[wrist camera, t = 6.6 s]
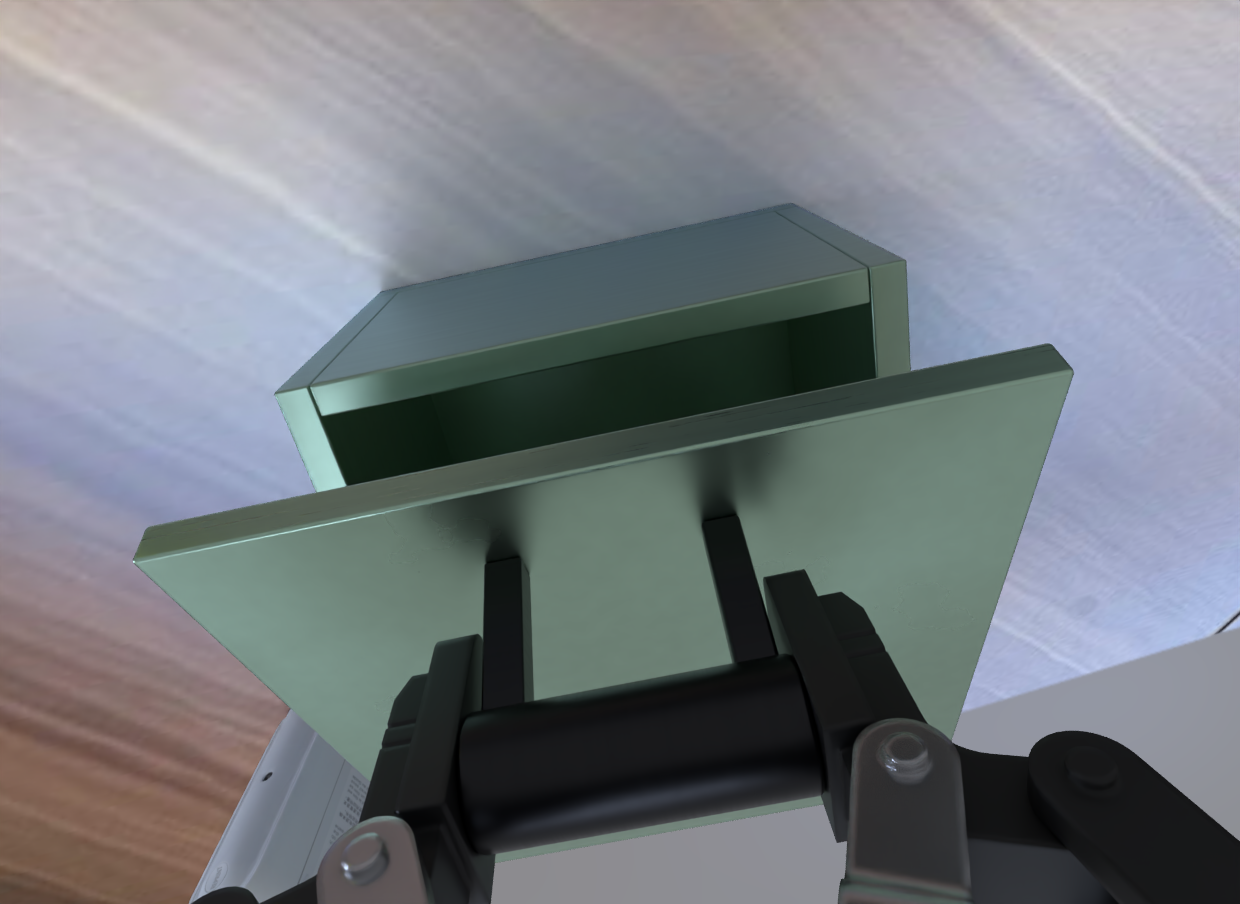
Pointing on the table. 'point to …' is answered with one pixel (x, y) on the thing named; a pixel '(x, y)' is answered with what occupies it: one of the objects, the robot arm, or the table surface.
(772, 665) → the lid
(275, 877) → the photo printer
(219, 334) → the table surface
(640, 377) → the box
